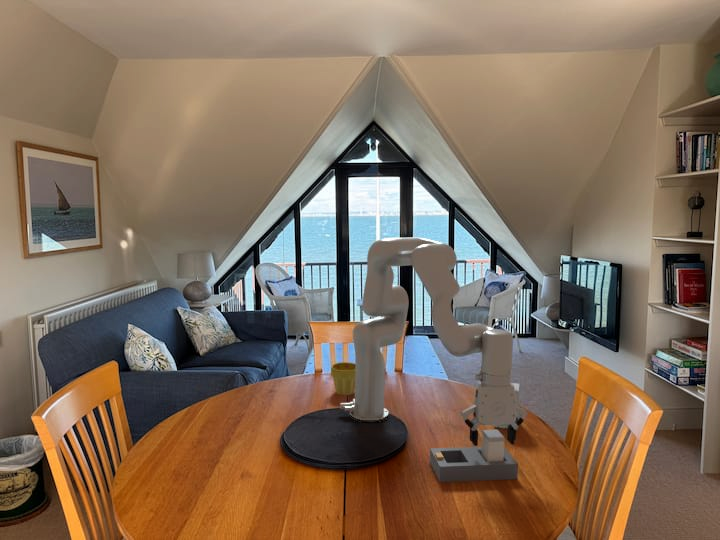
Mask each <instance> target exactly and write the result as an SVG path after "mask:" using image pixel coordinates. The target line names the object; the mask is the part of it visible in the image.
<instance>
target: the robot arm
mask: <svg viewBox="0 0 720 540" xmlns="http://www.w3.org/2000/svg"><path fill="white" fill-rule="evenodd" d="M367 252H368V253H367V257H366V266H367V267H366V268H367V269H366V270H367V271H366V276H365V282H364V289H363V290H364V291H363V297H362V303H361V304H362V305H361V306H362V307H361V309H362V311H363V313H364V315H366V316H368V317H370V318H368V319H363V320H361V321H359V322H357V323H356V324H355V326H354V327H353V330H352V340H353V346H354V357H355V358H354V360H355V361H354V362H355V390H354V398H352V401H350V402H340V403H339V406H340V410H344V412H349V416H350V415H351V416H352V417H354V418H356V419H360V420H379V419H383V418H385V417H387V416H388V415H390V414H389V413H390V412H389V410H388V409H387V408H385V378H386V376H385V374H386V361H385V357H384V356H383V353H382V351H381V348H384V347H388V346H393V345H396V344H398V343H399V342H400V341H401V340H402V338H403V337H404V336H403V335H404V331H405V328H406V321H407V317H408V310H409V296H408V293H407V291H406V290H405V288H404V287H403V286H401V285H399V284H394V280H395V275H394V270H393V267H403V266H404V267H405V266H412V268H413V270H414V272H415V274H416V275H417V277H418V278H419V281H420V282H421V284H422V285H423V287H424V289H425V291H426V293H427V295H428V296H429V298H430V300H431V302H432V303H431V320H432V327H433V330H434V331H435V333H436V336H437V337H438V339H439V341H440V342H441V344H442V346H443V347H444V348H445V350H446V351H447V352H448V353H449V354H450V355H452V356H454V357H457V358H460V357H466V356H470V355H472V354H477V353H481V360H480V361H481V362H480V363H481V364H480V370H479V373H478V374H475V375H474V378H475V380H476V381H477V380H478V382H477V385H476V388H475V393H474V397H473V404H472V405H471V406H469V407H467V408H465V409H463V410H462V411H460V416H461V418H462V420H463V422H464V423H465V424H466V425H467V426H468V428H469V441H470V442H471V443H472V444H473V447H478V443H479V431H478V428H479V427H480V426H481V425H482V426H494V425H508V424H510V425H508V428H507V429H506V431H507V433H506V440H507V442H508V443H509V444H510V445H515V440H516V439H517V431H518V429H519V426H521V425H522V423H524V421H525V419H526V417H527V416H528V411H526V410H525V409H524V408H522V407H520V406H519V407H518V406H516V396H515V388H514V385H513V384H512V383H513V382H512V368H513V367H512V366H513V350H514V336H513V333H512V332H510V331H508V330H505V329H500V328H499V329H497V328H493V327H491V326H489V325H487V324H485V323H479V322H477V323H472V324H467V325H462V326H460V325H459V323H458V322H457V320H456V317H455V315H454V314H453V310H452V301H453V298H455V297H456V296H457V295H458V293H459V292H460V290H461V289H460V284H459V282H458V281H457V279H456V277H455V276H454V274H453V272H452V270H453V269H454V268H455V267H456V265H457V260H458V258H457V253H456V251H455V250H454V249H453V248H452V246H450V245H449V244H447V243H444V242H441V241H440V242H439V241H436V240H431V239H427V238H422V237H416V236H415V237H413V236H412V237H409V236H408V237H387V238H386V237H385V238H381V239H379V240H376V241H374V242H373V243H372V244H371V246H370V247H369V249H368V251H367ZM516 412H518V413H519V416H518V417H517V418H516ZM470 415H472V416H473V418H471V420H470V419H469V416H470ZM351 416H350V417H351ZM352 417H351V418H352ZM388 417H389V416H388Z"/></svg>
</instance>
